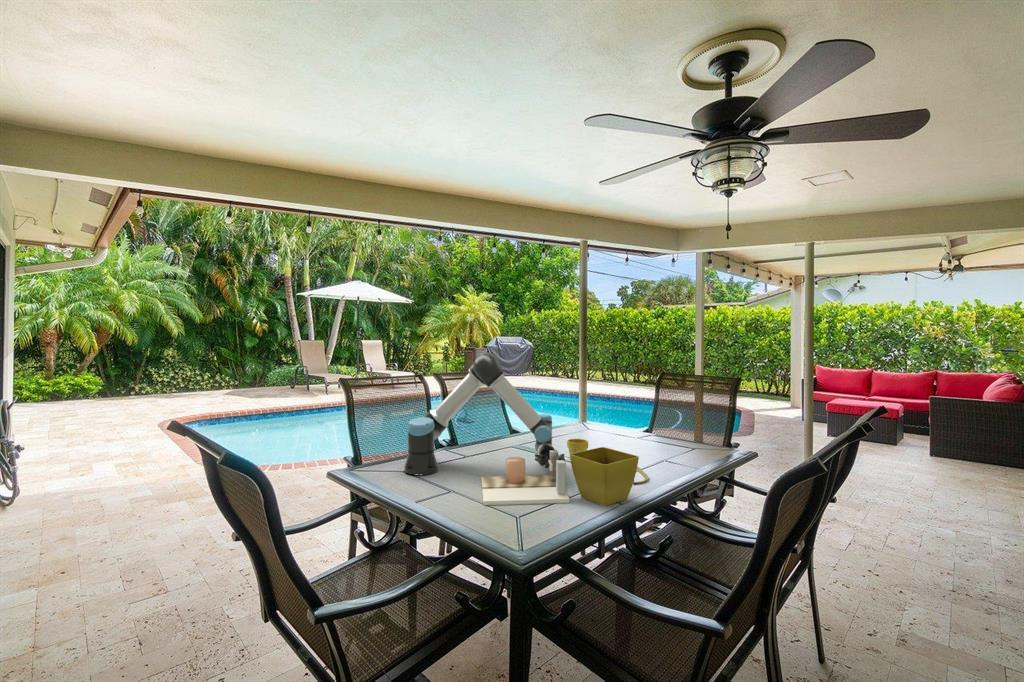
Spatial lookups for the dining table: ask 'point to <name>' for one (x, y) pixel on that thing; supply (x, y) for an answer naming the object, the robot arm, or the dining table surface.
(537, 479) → the oak runner
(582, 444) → the plant pot
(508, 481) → the tan rounded cylinder
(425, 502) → the dining table surface
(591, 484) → the flower pot
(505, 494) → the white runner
